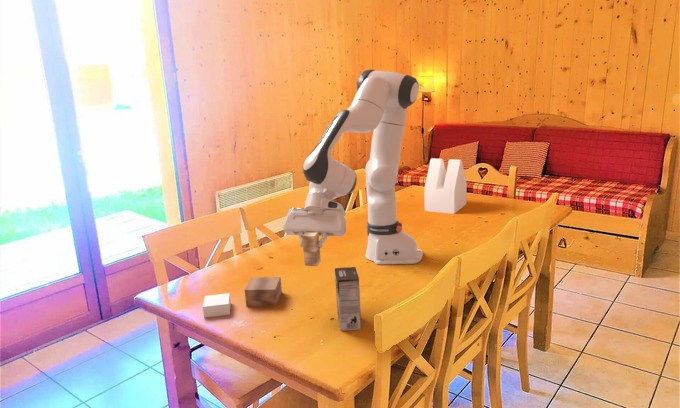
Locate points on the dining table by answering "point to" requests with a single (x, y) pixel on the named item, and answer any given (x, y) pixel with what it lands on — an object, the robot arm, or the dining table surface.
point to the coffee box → (348, 298)
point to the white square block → (217, 305)
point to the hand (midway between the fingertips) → (310, 246)
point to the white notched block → (445, 186)
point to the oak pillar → (311, 248)
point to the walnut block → (263, 291)
